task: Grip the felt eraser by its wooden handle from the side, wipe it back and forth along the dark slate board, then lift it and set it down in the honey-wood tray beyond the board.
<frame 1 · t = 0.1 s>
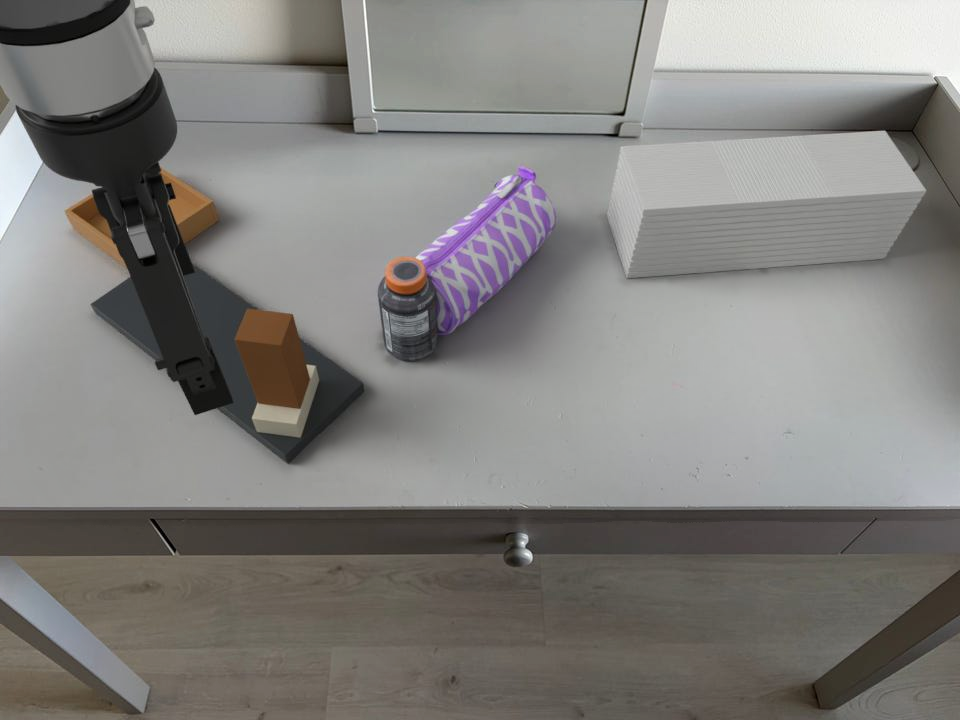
hand: (194, 335, 58), 21 cm above the table, tool pointing down, fingers open, 13 cm apart
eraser: (289, 405, 78), point 2 cm above the table, touching slate board
slate board: (225, 351, 84), on the table
tray: (147, 225, 95), on the table
stack of papers: (742, 238, 96), on the table
pill bottle: (411, 342, 85), on the table, touching pencil case
pencil case: (478, 279, 91), on the table, touching pill bottle
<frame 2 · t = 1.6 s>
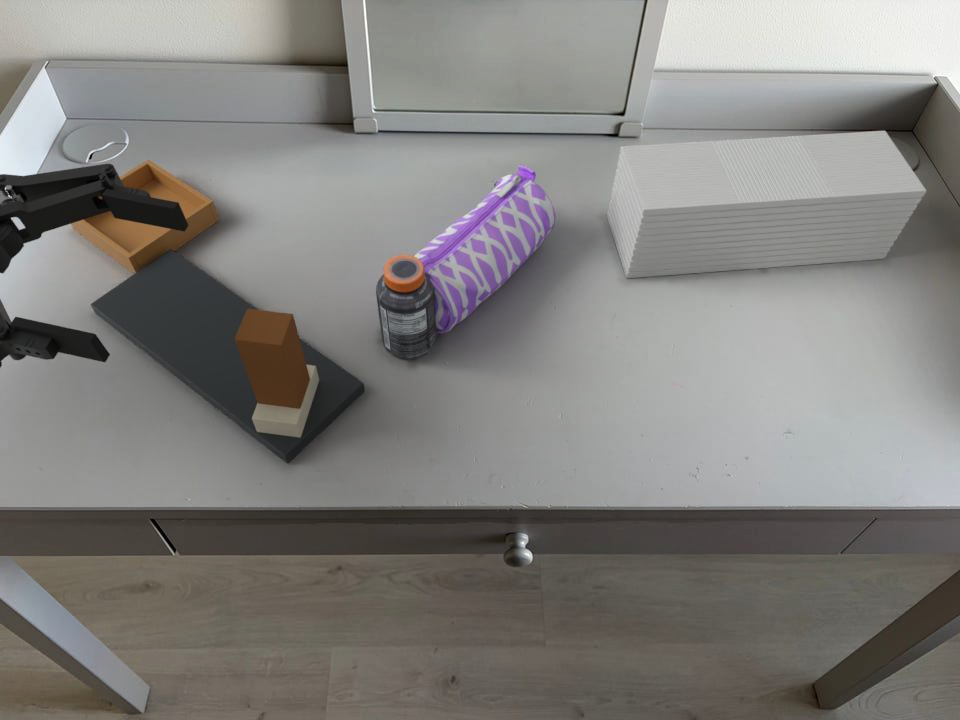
hand: (144, 279, 61), 21 cm above the table, tool horizontal, fingers open, 13 cm apart
pencil case: (477, 278, 91), on the table, touching pill bottle
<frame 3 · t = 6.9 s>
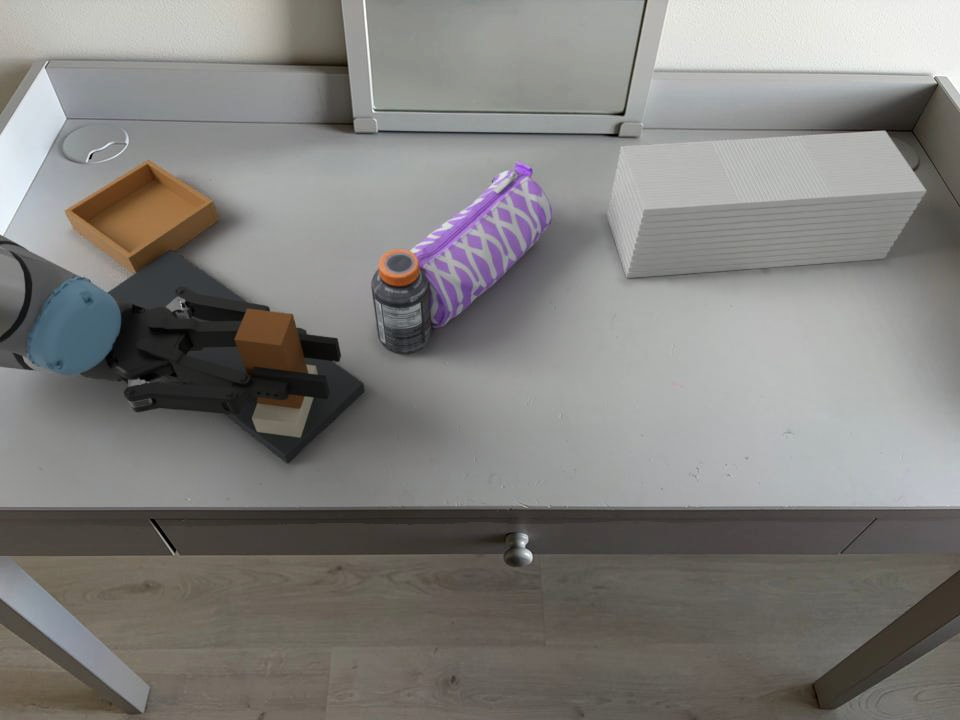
hand: (332, 368, 72), 9 cm above the table, tool horizontal, fingers closed on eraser, 4 cm apart
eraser: (289, 405, 78), point 2 cm above the table, touching gripper, slate board
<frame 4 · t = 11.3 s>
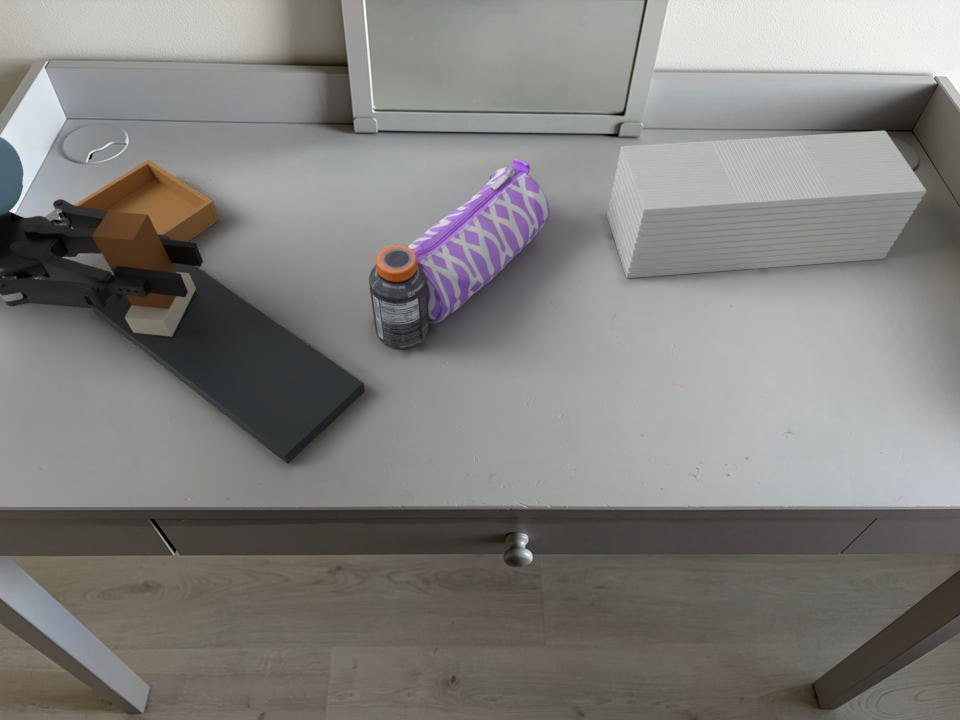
hand: (190, 269, 79), 9 cm above the table, tool horizontal, fingers closed on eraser, 4 cm apart
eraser: (165, 310, 85), point 2 cm above the table, touching gripper
pencil case: (471, 270, 92), on the table, touching pill bottle
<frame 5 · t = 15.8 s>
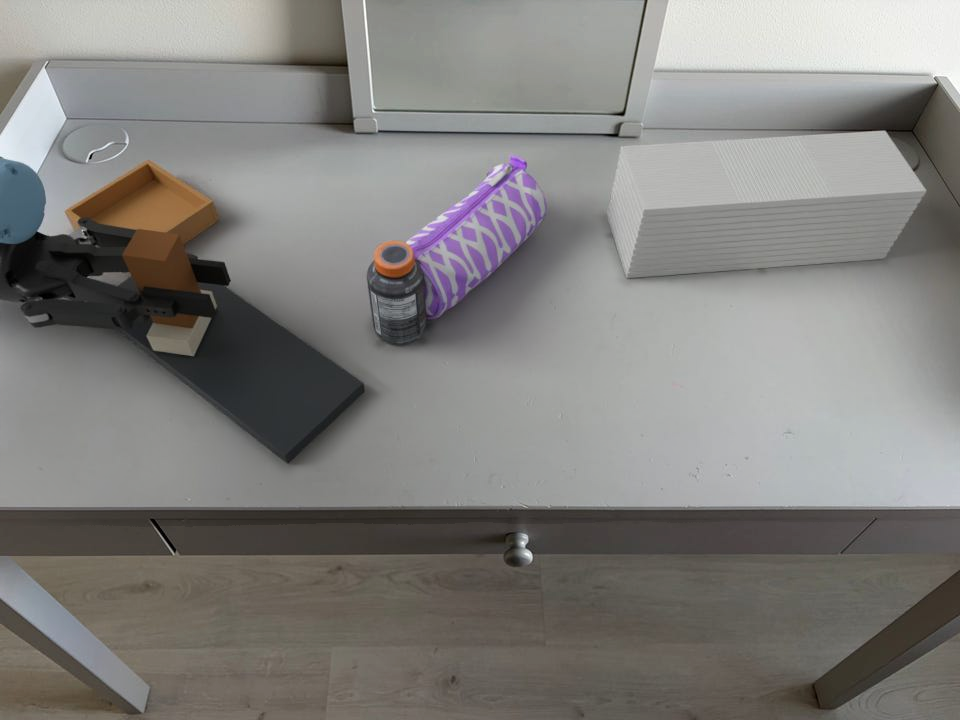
hand: (218, 289, 77), 9 cm above the table, tool horizontal, fingers closed on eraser, 4 cm apart
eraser: (186, 327, 83), point 2 cm above the table, touching gripper
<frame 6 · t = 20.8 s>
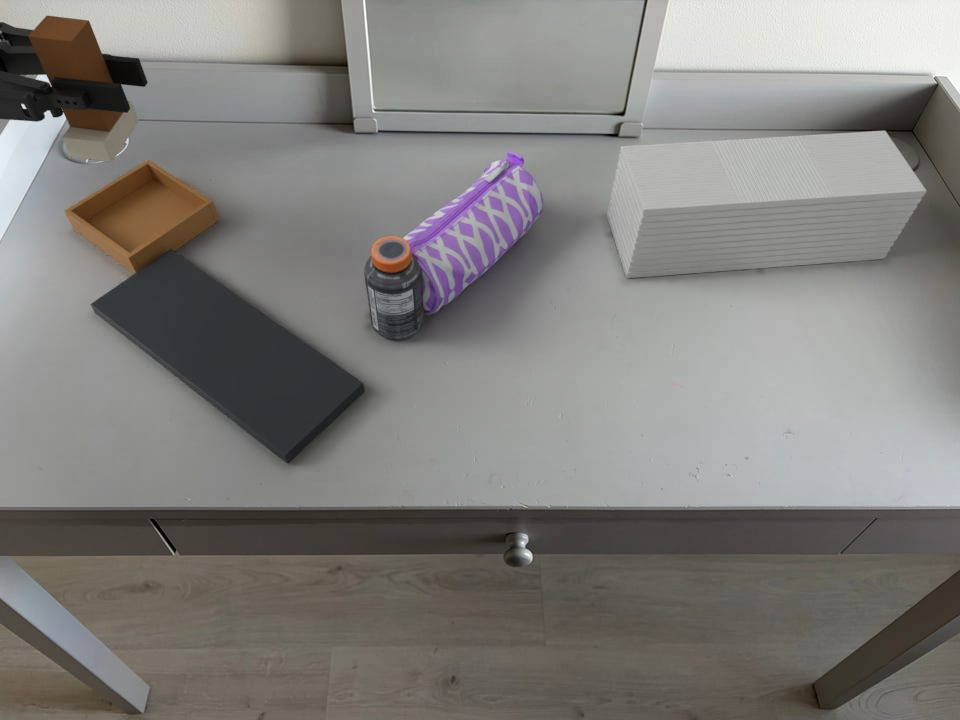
hand: (132, 85, 76), 22 cm above the table, tool horizontal, fingers closed on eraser, 4 cm apart
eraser: (105, 138, 82), point 14 cm above the table, touching gripper
when the fingers open (8 cm above the table, at t = 24.9 s): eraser stays where it is, resting on tray.
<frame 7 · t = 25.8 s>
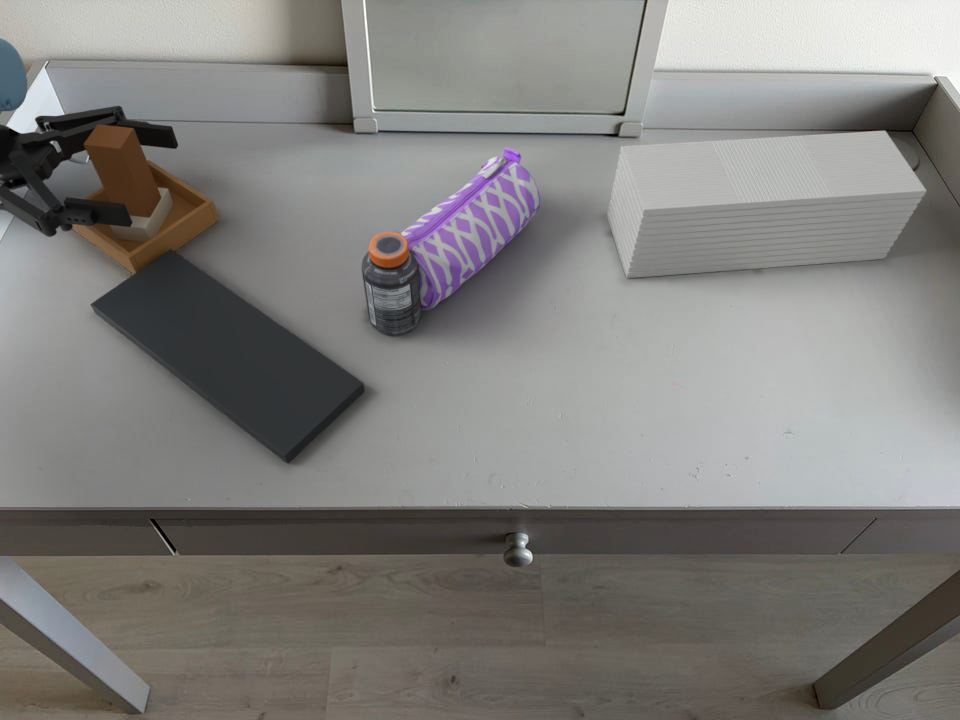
hand: (152, 174, 88), 8 cm above the table, tool horizontal, fingers open, 13 cm apart
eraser: (145, 221, 95), point 1 cm above the table, touching tray
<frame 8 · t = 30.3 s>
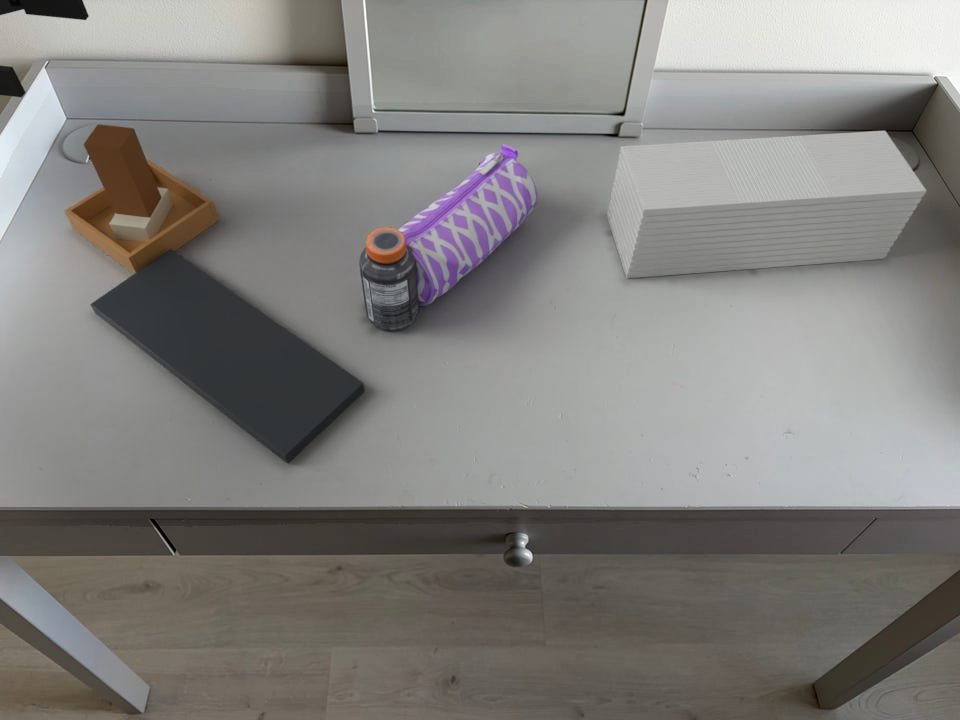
hand: (52, 42, 76), 24 cm above the table, tool horizontal, fingers open, 13 cm apart
at the end: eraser inside the target area in the tray (0.0 cm from its centre), point 0.6 cm above the tray's base; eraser tilted 0°; the gripper is holding nothing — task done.
